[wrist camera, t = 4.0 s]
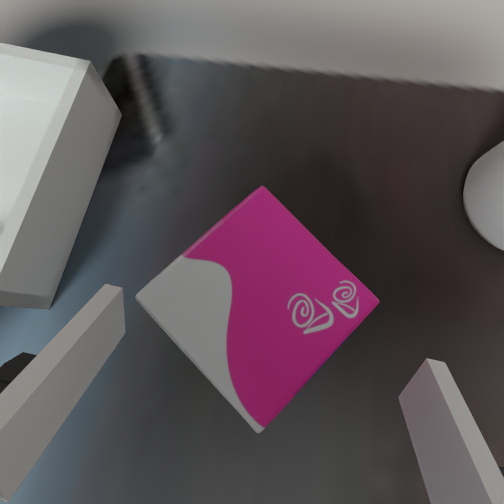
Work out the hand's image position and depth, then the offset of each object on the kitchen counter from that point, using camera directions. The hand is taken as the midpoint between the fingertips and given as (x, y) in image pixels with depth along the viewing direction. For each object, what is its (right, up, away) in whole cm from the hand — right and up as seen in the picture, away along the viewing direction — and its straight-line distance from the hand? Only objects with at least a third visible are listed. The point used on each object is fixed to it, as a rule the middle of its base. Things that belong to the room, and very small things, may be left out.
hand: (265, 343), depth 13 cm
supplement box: (-1, 0, +8) cm, 8 cm away
